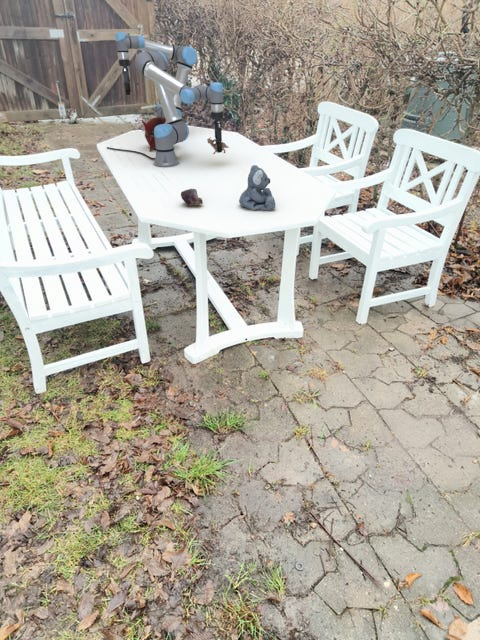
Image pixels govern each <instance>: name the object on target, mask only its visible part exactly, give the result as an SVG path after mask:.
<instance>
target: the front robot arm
mask: <svg viewBox="0 0 480 640" xmlns="http://www.w3.org/2000/svg"><path fill="white" fill-rule="evenodd" d="M168 66H169V63H168V57H165V55H164V54H163V53H162V52H160V51H149V52H145V51H141V52H139V53H137V54H136V55H135V58H134V67H135V69H136V71H137V73H139V74H140V75H141V76H143V78H145V79H150V80H151V81H152V82H153V85H154V88H155V91H156V94H157V97H158V100H159V104H161V106H162V109H163V112H164V115H165V118H166V122H165V124H160V125H157V126H156V127H155V128H154V137H155V145H156V149H155V155H154V157H151V156H150V155H148V154H146V153H143V152H140V151H136V150H131V149H123V148H114V147H109V146H106V149H109V150H114V151H122V152H131V153H137V154H139V155H142V156H145V157H146V158H148V159H150V160H154V165H155V166H157V167H163V168H164V167H165V168H167V167H168V168H169V167H174V166H177V165H178V164H179V159H178V157H177V153H176V151H175V145H177V144H180V143H183V142H185V141H187V139H188V138H189V135H190V128H189V125H188V124H187V123H186V122H184V121H183V117H182V118H181V117H179V116H178V113H177V110H176V106H175V103H174V100H173V97H172V92H173V93H175V94H176V95H178V96H179V97H180V99H181V100H182V102H181V103H183V104H192V103H195V102H199V101H204V100H205V101H210V111H211V112H210V114H211V115H210V118H211V120H214V121H213V125H214V137H215V138H214V139H217V141H215V143H217V152H216V153H223V151H222V146H221V142H223V135H222V121H221V120H223V119H224V117H225V116H224V107H225V105H224V87H223V83H222V82H214V81H213V82H211V83H209V85H201V84H199V85H194V86H193V87H191V86H189V85H187V83H186V84H184V83H182V82H181V81H179V80H178V79H176V77H174V76H173V75H172V74H170V73H168V70H167V69H168Z"/></svg>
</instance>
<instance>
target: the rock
mask: <svg viewBox="0 0 480 640" xmlns="http://www.w3.org/2000/svg"><path fill="white" fill-rule="evenodd" d="M180 197H181V200H182V201H183V202H184V203H185V205H187V206H189V207H191V206H192V207H193V206H201V205H203V204H204V202H203V199H202V197H199V195H198V190H197V189H196V188H188V189H185V190H181V192H180Z"/></svg>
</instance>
